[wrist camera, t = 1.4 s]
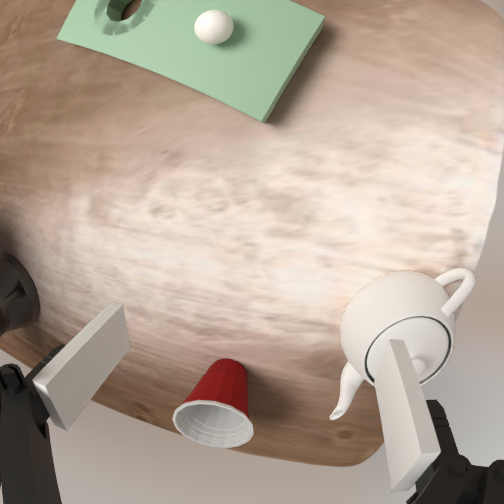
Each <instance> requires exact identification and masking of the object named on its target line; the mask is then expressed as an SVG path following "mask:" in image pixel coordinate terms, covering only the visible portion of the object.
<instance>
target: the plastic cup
mask: <svg viewBox="0 0 504 504" xmlns="http://www.w3.org/2000/svg"><path fill="white" fill-rule="evenodd" d="M173 422H174V424H175V427H176V429H177V430H178V431H179V432H180V433H182V434H183V435H184V436H185V437H187V438H189V439H190V440H192V441H194V442H196V443H198V444H202V445H205V446H209V447H216V448H231V447H237V446H240V445H242V444H244V443H246V442H248V441H249V440H250V439H251V437H252V436H253V434H254V432H253V424H252V422H251V421H250V419H249V415H248V390H247V373H246V370H245V368H244V367H243V366H242V365H241V364H240V363H238V362H237V361H234V360H231V359H221V360H217V361H216V362H215V363H213V364H212V365H211V366H210V368H209V369H208V371H207V372H206V374H204V375H203V377H202V378H201V380H200V381H199V382H198V384H197V385H196V387H195V388H194V390H193V391H192V392H191V394H190V395H189V397H187V399H186V400H185V402H183V404H182V405H181V406H180V407H178V408H177V409H176V410H175V412H174V415H173Z"/></svg>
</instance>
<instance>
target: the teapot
mask: <svg viewBox="0 0 504 504" xmlns="http://www.w3.org/2000/svg"><path fill="white" fill-rule="evenodd" d="M460 279H464V281H463V282H462V284H461V286H460V287H459V288H458V289H457V291H456V292H455V293H454V294H453V295H452V297H451V298H449V296H448V294H447V292H446V291H445V290H444V288H443V287H444V286H445V285H447V284H449V283H451V282H453V281H456V280H460ZM475 282H476V278H475V276H474V274H473V272H471V271H470V270H469V269H466V268H455V269H452V270H449V271H447V272H445V273H443V274H441V275H439V276H438V277H436V278H435V279H433V278H431V277H430V276H428V275H425V274H423V273H420V272H415V271H396V272H391V273H387V274H384V275H382V276H380V277H377V278H375V279H374V280H372V281H371V282H369V283H367V284H366V285H365V286H364V287H363V288H362V289H360V290H359V291H358V292H357V293H356V295H355V296H354V297H353V298H352V300H351V301H350V302H349V304H348V306H347V308H346V310H345V311H344V314H343V317H342V320H341V325H340V340H341V346H342V349H343V351H344V353H345V356H346V358H347V360H348V362H347V363H346V365H345V367H344V369H343V371H342V375H341V382H340V398H339V401H338V404H337V406H336V408H335V410H334V411H333V413H332V414H331V416H330V419H331V420H335V419H337V418H339V417H341V416H342V415H343V414H344V413H345V412H346V411H347V409H348V408H349V406H350V404H351V402H352V400H353V398H354V395H355V393H356V391H357V389H358V388H359V386H360V385H361V383H362V382H363V381H364V380H366V381H368V382H369V383H370V384H371V385H373V386H374V387H375V384H374V381H375V378H376V375H377V373H378V370H379V367H380V364H381V361H382V358H383V356H384V353H385V350H386V347H387V344H388V341H389V339H397V340H404V342H405V345H406V347H407V350H408V353H409V355H410V358H411V361H412V363H413V366H414V369H415V371H416V374H417V377H418V380H419V383H420V386H422V385H424V384H426V383H427V382H429V381H430V380H432V379H433V378H434V377H435V376H437V375H438V374H439V373H440V372H441V371H442V370H443V368H444V367H445V365H446V364H447V363H448V361H449V359H450V357H451V354H452V351H453V348H454V340H455V315H454V312H455V311H456V309H457V308H458V307H459V306H460V305H461V304H462V303H463V302H464V300H465V299H466V298H467V296H468V295H469V294H470V293H471V291H472V289H473V288H474V285H475Z"/></svg>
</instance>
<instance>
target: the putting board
mask: <svg viewBox="0 0 504 504" xmlns="http://www.w3.org/2000/svg"><path fill="white" fill-rule="evenodd" d="M131 1H132V0H77V1H76V2H75V4H74V6H73V8H72V10H71V11H70V13H69V15H68V17H67V19H66V21H65V23H64V25H63V27H62V29H61V31H60V33H59V35H58V37H57V39H59V40H63V41H66V42H70V43H73V44H76V45H80V46H83V47H86V48H89V49H93V50H96V51H99V52H102V53H105V54H108V55H111V56H113V57H116V58H119V59H122V60H125V61H127V62H130V63H133V64H135V65H138V66H141V67H143V68H146V69H148V70H151V71H153V72H156V73H158V74H161V75H163V76H166V77H168V78H171V79H173V80H175V81H178V82H180V83H182V84H185V85H187V86H189V87H191V88H194V89H196V90H198V91H200V92H202V93H205V94H207V95H209V96H211V97H213V98H215V99H217V100H219V101H222V102H224V103H226V104H228V105H230V106H232V107H234V108H236V109H238V110H240V111H242V112H244V113H246V114H248V115H250V116H252V117H253V118H255V119H257V120H259V121H261V122H263V123H266V121H267V119H268V118H269V116H270V114H271V112H272V111H273V109H274V107H275V106H276V104H277V102H278V100H279V99H280V97H281V95H282V94H283V92H284V90H285V89H286V87H287V85H288V84H289V82H290V80H291V79H292V77H293V75H294V74H295V72H296V70H297V69H298V67H299V65H300V64H301V62H302V60H303V59H304V57H305V56H306V54H307V52H308V51H309V49H310V48H311V46H312V44H313V43H314V41H315V40H316V38H317V36H318V35H319V33H320V32H321V30H322V29H323V25H324V19H325V16H323V15H321V14H319V13H316V12H314V11H312V10H310V9H308V8H306V7H303V6H301V5H299V4H297V3H294V2H292V1H290V0H142V4H141V5H140V7H139V8H138V10H137V12H136V13H135V14H133V15H132V16H131V17H129V18H128V19H126V20H123V21H121V14H122V11H123V10H124V8H125V6H126V5H127V4H128V3H129V2H131ZM209 10H221V11H224V12H225V13H227V14H228V15H229V16H230V17H231V18H232V20H233V23H234V29H233V32H232V34H231V36H230V37H229V38H228V39H227V40H226V41H224V42H222V43H219V44H207V43H204V42H202V41H201V40H200V39H199V38H198V37H197V36H196V34H195V31H194V25H195V22H196V20H197V18H198V17H199V16H200V15H201V14H202V13H204V12H206V11H209Z"/></svg>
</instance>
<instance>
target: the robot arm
mask: <svg viewBox="0 0 504 504" xmlns="http://www.w3.org/2000/svg"><path fill="white" fill-rule="evenodd" d="M38 313H39V301H38V296H37V292H36V289H35V287H34V284H33V282H32V280H31V278H30V276H29V274H28V273H27V271H26V270H25V268H24V267H23V266H22V265H21V264H20V262H19V261H17V260H16V259H15V258H14V257H12V256H10V255H8V254H1V255H0V337H1V336H2V335H3V334H4V333H6V332H8V331H11V330H15V329H18V328H20V327H25V326H27V325H29V324H30V323H32V322H33V321H34V320H35V319H36V318H37V316H38ZM129 349H130V342H129V337H128V331H127V326H126V320H125V314H124V308H123V305H122V304H117V303H112V302H111V303H110V304H109V305H107V306H106V307H105V308H104V309H103V310H102V311H101V312H100V313H99V314H98V315H97V316H96V317H95V318H94V319H93V320H92V321H91V322H90V323H88V324H87V325H86V326H85V327H84V328H83V329H82V330H81V331H80V332H79V333H78V334H77V335H76V336H75V337H74V338H73V339H72V340H71V341H70V342H69V343H68V344H67V345H66V346H65V345H60V346H58V347H56V348H55V349H53V350H52V351H51V352H50V353H49V354H48V355H47V357H45V358H44V359H43V360H42V362H40V363H39V364H38V365H37V366H36V367H35V368H34V369H33V370H32V371H31V372H30V373H29V374H28V375H27V376H26V377H25V378H24V376H23V374H22V371H21V369H20V367H18V365H15V364H6V365H3V366H2V367H0V486H1V483H2V494H3V503H4V504H62V502H61V498H60V493H59V489H58V484H57V480H56V474H55V469H54V463H53V457H52V450H51V444H50V435H49V427H48V423H47V421H46V420H47V419H48V418H49V417H51V419H52V421H53V423H54V425H56V426H58V427H60V428H62V429H64V430H66V431H68V429H69V428H70V427H71V425H72V424H73V423H74V421H75V420H76V418H77V417H78V416H79V414H80V413H81V412H82V410H83V409H84V408H85V406H86V405H87V404H88V402H89V401H90V400H91V398H92V397H93V396H94V394H95V393H96V392H97V390H98V389H99V388H100V386H101V385H102V384H103V382H104V381H105V380H106V378H107V377H108V376H109V374H110V373H111V372H112V371H113V369H114V368H115V367H116V365H117V364H118V363H119V361H120V360H121V359H122V358H123V356H124V355H125V354H126V352H127V351H128V350H129ZM374 384H375V389H376V394H377V400H378V405H379V411H380V416H381V422H382V428H383V435H384V441H385V447H386V454H387V462H388V469H389V478H390V486H391V492H395V491H405V490H409V489H410V488H411V487H412V486H413V485H414V484H416V490H417V491H416V492H415V493H414V494H413V495H412V496H411V497H410V498H409V500H407V501H406V502H407V504H504V460H496V461H494V462H493V463H492V464H491V465H490V466H489V467H482V466H475V465H471V463H470V462H469V460H468V459H467V458H466V457H464V456H462V455H459V453H458V450H457V447H456V444H455V441H454V438H453V434H452V432H451V428H450V427H449V423H448V420H447V419H446V414H445V411H444V408H443V407H442V406H441V405H440V403H439V402H438V401H437V400H425V397H424V395H423V391H422V389H421V386H420V383H419V380H418V377H417V374H416V371H415V369H414V366H413V363H412V361H411V358H410V355H409V353H408V350H407V347H406V345H405V342H404V340H397V339H389V341H388V344H387V347H386V350H385V353H384V356H383V358H382V361H381V364H380V367H379V370H378V373H377V375H376V378H375V381H374Z"/></svg>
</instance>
